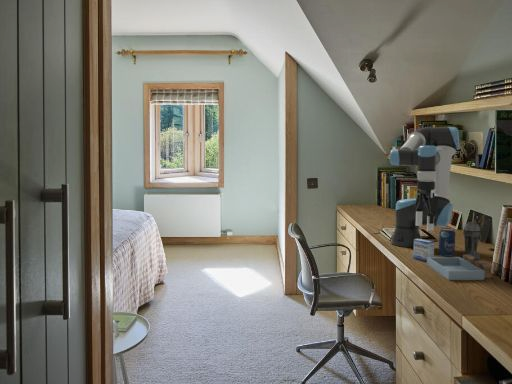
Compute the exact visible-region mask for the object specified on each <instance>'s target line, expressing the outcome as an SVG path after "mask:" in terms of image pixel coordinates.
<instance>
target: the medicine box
mask: <svg viewBox="0 0 512 384" xmlns="http://www.w3.org/2000/svg"><path fill="white" fill-rule="evenodd" d="M412 248H413V249H412V250H413V251H412V252H413V253H412V254H413V255H412V259H415V260H420V261H424V262H425V261H426V262H427V257H434V256H435V241H434V240H429V239H428V240H427V239H423V238H422V239H415V240H414V247H412Z"/></svg>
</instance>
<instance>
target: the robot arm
mask: <svg viewBox="0 0 512 384" xmlns="http://www.w3.org/2000/svg"><path fill="white" fill-rule="evenodd" d="M457 150H460V134H459V129H458V128H457V127H456V126H426V127H421V128H419V129H416V130H414V131H413V132H411V133H410V134H409V135H408V136H407V138H406V141H405V142H404V144H403V145H402V146H401V147H399V149H398V148H397V149H391V150H390V152H389V163H390V165H391V166H397V167H398V166H399V167H400V166H408V167H417V173H416V176H417V178H416V179H417V183H416V189H417V194H416V197H415V198H405V199H399V200H397V201H396V204H395V218H394V219H395V222H394V223H395V224H394V225H395V226H394V227H395V228H394V231H393V233H392V236H391V239H390V241H391V242H390V243H391V245H394V246H398V247H404V248H414V240H415V239H423V238H422V235H421V232H420V227H423V226H426V232H434V230H435V228H434V227H437V228H439V227H442V228H444V227H445V228H447V227H448V226H449V225H450V222H451V220H452V216H453V210H454V205H453V203H451V199H449V198H448V194H449V187H450V186H449V185H450V178H451V177H450V176H451V170H452V169H451V167H452V159H453V156H454V155H455V154H456V151H457Z"/></svg>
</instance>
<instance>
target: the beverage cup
mask: <svg viewBox="0 0 512 384" xmlns="http://www.w3.org/2000/svg"><path fill="white" fill-rule="evenodd" d="M474 219H475V212H474V211H473V213H472V219H471V220H472V221H468V222H467V223H465V224H464V227H463V234H464V253H465V254H464V255H472V256H474V252H478V244H479V237H480V234H481V227H480V225H479V224H478V223H477V222H475V221H474Z"/></svg>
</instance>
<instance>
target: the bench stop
mask: <svg viewBox="0 0 512 384" xmlns="http://www.w3.org/2000/svg"><path fill="white" fill-rule="evenodd" d="M480 256H481V255H480V252H479V251H477V252H474V256H472V255H465V254H462V259H464V260H466V261H468V262H469V263H471V264H473V265H475V266H477V267H479V268H480V269H482V270H484V271H485V275H484V279H491V278H492V264H490V263H487V262H485V261H483V260H482V259H480V258H481V257H480Z"/></svg>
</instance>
